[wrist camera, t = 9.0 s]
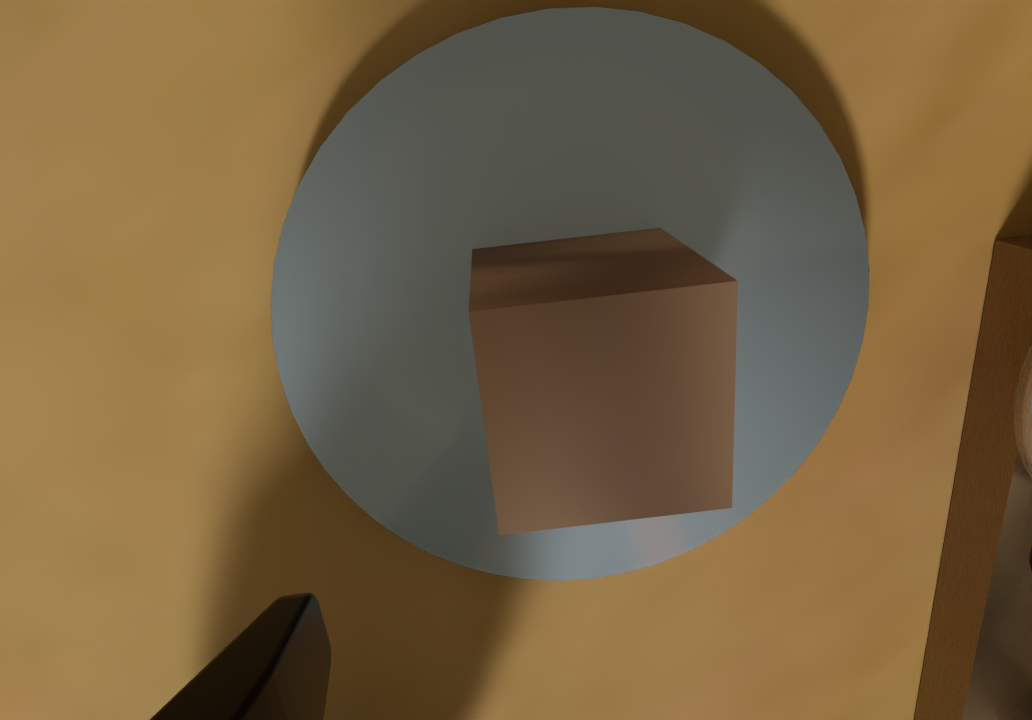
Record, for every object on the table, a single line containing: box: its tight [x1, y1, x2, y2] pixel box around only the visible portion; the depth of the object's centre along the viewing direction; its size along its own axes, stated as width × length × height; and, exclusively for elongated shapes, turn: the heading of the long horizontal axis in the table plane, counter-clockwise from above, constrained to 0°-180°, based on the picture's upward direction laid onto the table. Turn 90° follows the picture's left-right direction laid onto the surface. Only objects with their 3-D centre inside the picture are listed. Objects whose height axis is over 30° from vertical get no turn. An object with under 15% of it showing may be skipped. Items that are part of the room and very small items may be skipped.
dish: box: [271, 7, 869, 581], centre depth 17 cm, size 15×15×1 cm
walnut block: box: [468, 228, 738, 535], centre depth 14 cm, size 4×4×5 cm
